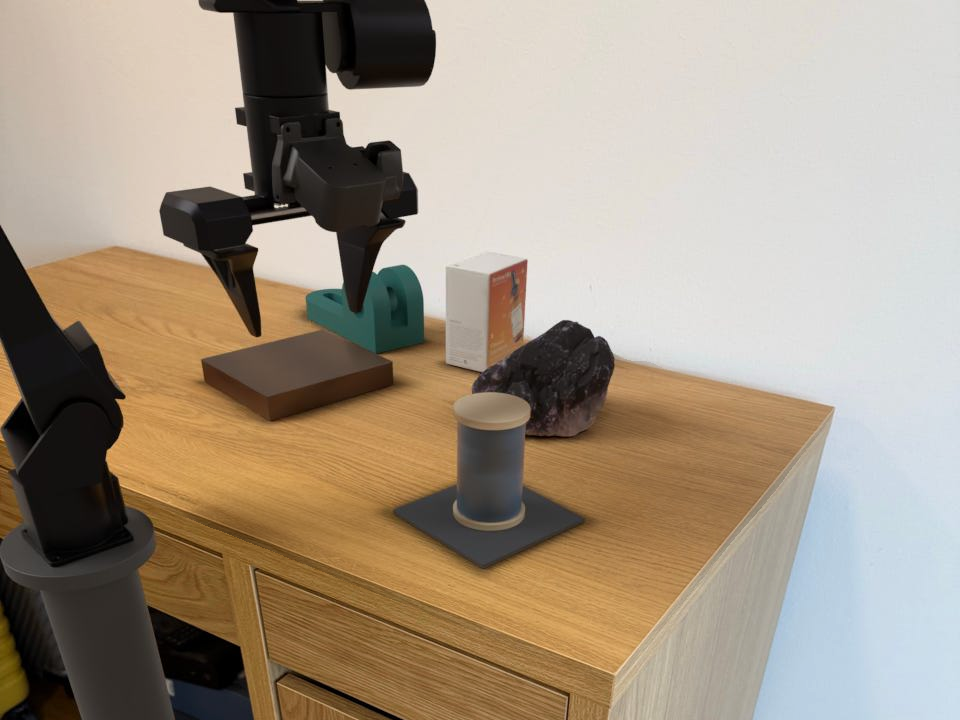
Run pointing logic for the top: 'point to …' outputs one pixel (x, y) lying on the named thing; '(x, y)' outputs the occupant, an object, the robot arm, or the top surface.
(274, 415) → the platform
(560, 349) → the crystal cluster
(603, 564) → the top surface
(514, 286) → the small box
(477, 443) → the spool
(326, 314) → the bracket
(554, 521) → the felt mat
